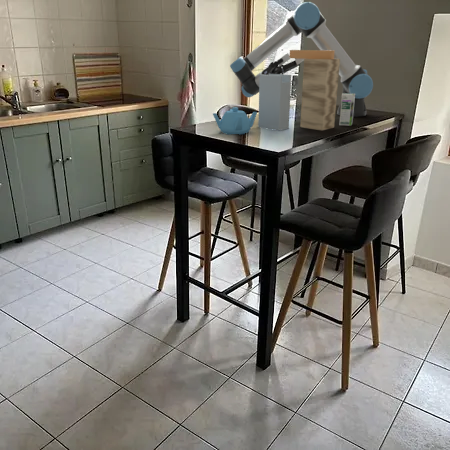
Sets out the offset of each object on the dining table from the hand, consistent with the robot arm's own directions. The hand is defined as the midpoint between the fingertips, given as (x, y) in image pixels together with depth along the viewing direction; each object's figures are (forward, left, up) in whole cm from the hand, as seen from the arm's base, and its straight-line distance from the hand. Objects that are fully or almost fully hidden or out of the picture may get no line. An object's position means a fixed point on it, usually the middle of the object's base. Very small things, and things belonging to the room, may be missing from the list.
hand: (297, 55), depth 211 cm
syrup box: (-23, +9, -31) cm, 40 cm away
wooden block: (-7, +11, -31) cm, 34 cm away
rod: (-4, +6, -1) cm, 7 cm away
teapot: (+33, +11, -31) cm, 47 cm away
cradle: (+13, +6, -31) cm, 34 cm away
